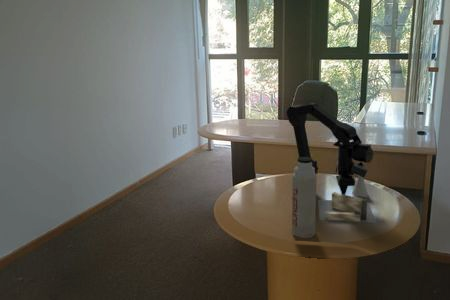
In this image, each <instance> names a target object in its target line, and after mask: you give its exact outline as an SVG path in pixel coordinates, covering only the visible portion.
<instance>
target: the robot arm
mask: <svg viewBox="0 0 450 300" xmlns="http://www.w3.org/2000/svg"><path fill="white" fill-rule="evenodd" d="M285 114H286V116H287V119H288V123H290V125H291V126H292V128H293V131H294V136H295V137H294V138H295V142H296V144H295V145H296V148H297V154H298V158H300V157H309V158H312V156H311V153H310V152H311V151H310V147H309V146H310V145H309V141H308V134H307V129H306V122H307V119H308V115H311V116H312V117H314V118H315V119H316V120H317V121H319V122H320V124H322V125H324V126H325V127H326V128H327V129H329V130H330V131H331V133H332V135H333V137H334V138H335V139H336V140H337V141H336V142H335V143H333V146H334V147H337V148H338V150H337V160H336V161H337V164H336V165H335V166H334V172H335V174H337V175H336V176H335V177H336V181H337V186H338V188H339V189H340V192H341V193H340V194H343V195H347V194H346V193H347V190H348V187H355V185H356V179H355V177H354V174H355V175H356V176H358V175H359V176H361V177H363V178H364V179H365V177H366V176H367V173H368V168H367V167H366V166H365V165H364V163H366V164H369V163H372V160H373V158H374V151H373V148H372V144H363V142H362V140H361V138H360V137H359V135H358V133H357V129H356V127H354V126H353V125H351V124H349V123H346V122H343V121H340V120H338V119H337V118H336V117H334V116H333V115H332V114H330V113H329V112H328V111H326V110H325V109H324V108H322V107H321V106H320V105H319V104H318V103H316V102H313V103H308V104H305V105H302V104H298V105H292V106H289V107H288V108H287V110H286V113H285ZM354 161H357V163H355V162H354ZM312 167H314V168H315V174H316V175H317V174H318V173H319V172H318V170H319V168H318V161H317V160H313V159H312Z"/></svg>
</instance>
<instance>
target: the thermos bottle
mask: <svg viewBox="0 0 450 300" xmlns="http://www.w3.org/2000/svg"><path fill="white" fill-rule="evenodd" d="M312 160H313V158H312V157H311V158H309V157H300V158H299V157H297V162H296V163H297V166H295V167H294V170H293V171H294V172H293V173H292V184H291V185H292V186H291V187H292V189H291V190H292V195H291V198H292V199H291V200H292V203H291V205H292V206H291V207H292V209H291V234H292V235H293V236H295V237H297V238H303V239H307V238H312V237H314V236H315V235H316V210H317V209H316V206H317V202H316V201H317V177H318V176H317V174H315V168H314V167H312Z"/></svg>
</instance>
